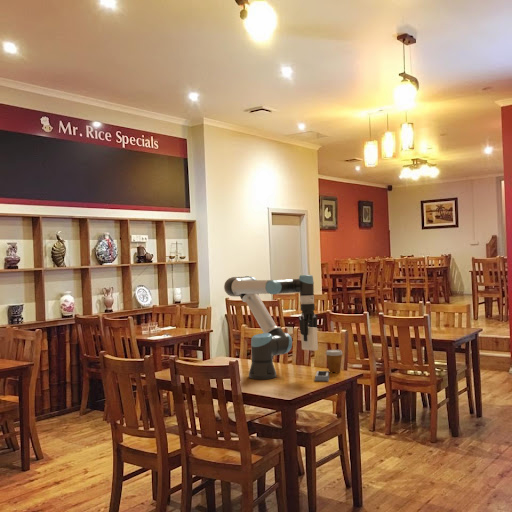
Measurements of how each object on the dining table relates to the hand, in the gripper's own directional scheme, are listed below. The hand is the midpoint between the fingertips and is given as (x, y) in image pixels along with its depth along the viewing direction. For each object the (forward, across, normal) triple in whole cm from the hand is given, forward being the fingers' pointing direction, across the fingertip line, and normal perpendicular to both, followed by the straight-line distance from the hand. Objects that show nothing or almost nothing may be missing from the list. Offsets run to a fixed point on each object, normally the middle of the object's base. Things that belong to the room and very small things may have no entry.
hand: (309, 346), depth 297 cm
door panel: (+2, 0, 0) cm, 2 cm away
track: (+17, +4, -4) cm, 18 cm away
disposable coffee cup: (+17, +22, +2) cm, 28 cm away
